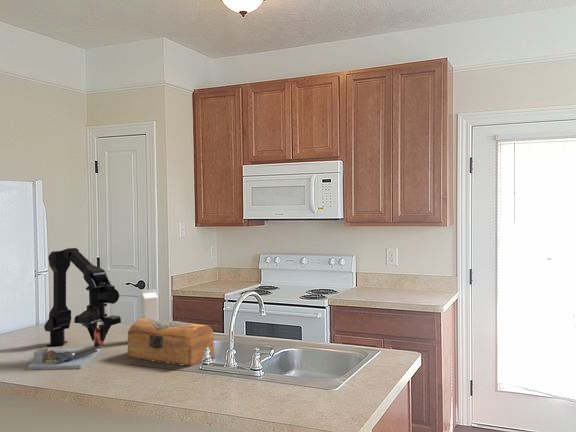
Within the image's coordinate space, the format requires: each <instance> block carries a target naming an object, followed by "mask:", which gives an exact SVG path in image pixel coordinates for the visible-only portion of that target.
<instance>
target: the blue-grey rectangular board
mask: <svg viewBox="0 0 576 432" xmlns="http://www.w3.org/2000/svg"><path fill="white" fill-rule="evenodd" d="M80 349H81V348H53V349H51V350H53V351H55V352H56V353H65V352H71V351H73V352H74V351H77V350H80ZM101 349H102V347H101V348H100V349H97V350H94V351H91V352H88V353H85V354H82V355H79V356H76V357H75V358H72V359H66V360H63V361H57V360H53V359H51V360H48V359H47V358H46V354H47V352H48V348H38V349H37V350H35V351H33V362H31V363H30V364H29V365H27V366H26V370H28V371H30V370H31V371H33V370H34V371H35V370H36V371H37V370H38V369H41V370H73V369H75V370H76V369H77V368H81V369H82V368H84V366H86V365H87V364H88V363H89V362H90V361H91V360H93V359H94V358H95V357H96V356H97V355H98V354H99V353H101ZM85 364H86V365H85ZM77 370H78V369H77Z"/></svg>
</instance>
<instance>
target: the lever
mask: <svg viewBox="0 0 576 432" xmlns="http://www.w3.org/2000/svg"><path fill="white" fill-rule="evenodd" d="M104 343H105V340H104V341H103V342H101V333H100V328H99V327H98V326H97V328H94V341H93V345H90V346H87V347H83V348H79V349H80V350H77V351H74V352H73V351H71V352H65V353H55V354H53V360H57V361H63V360H66V359H72V358H75V357H76V356H79V355H82V354H85V353H88V352H91V351H94V350H97V349H100V348H101V349H102V346H104V345H105V344H104Z"/></svg>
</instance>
